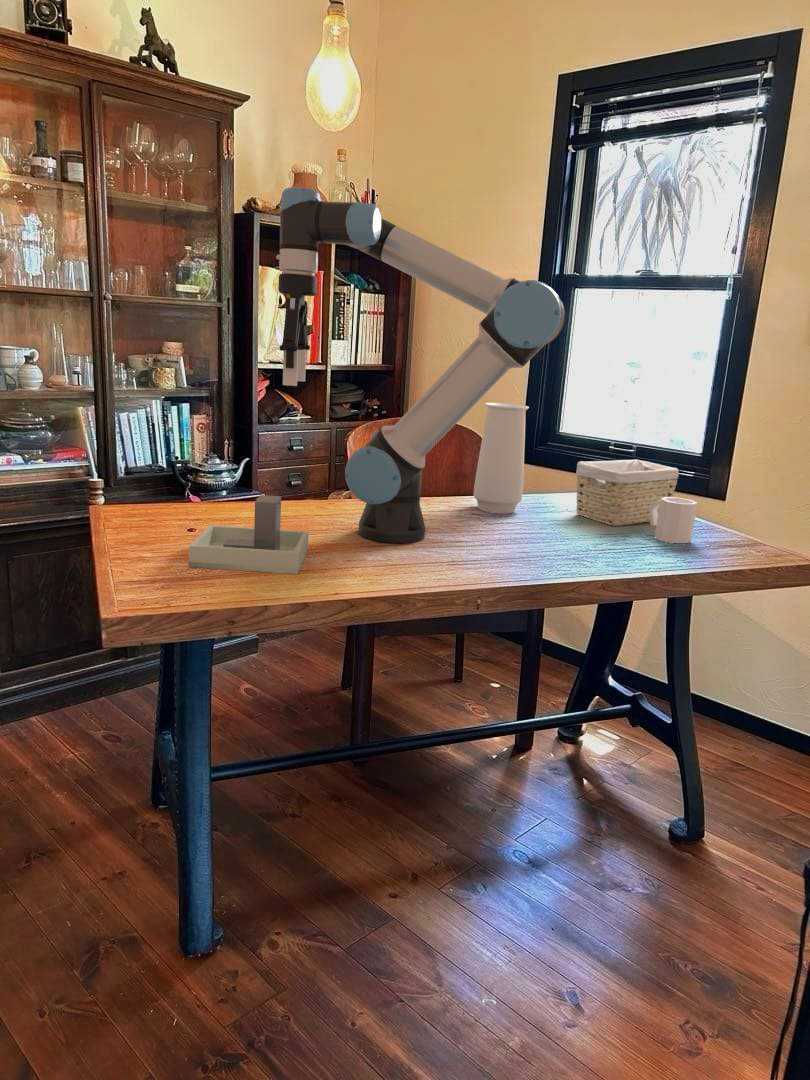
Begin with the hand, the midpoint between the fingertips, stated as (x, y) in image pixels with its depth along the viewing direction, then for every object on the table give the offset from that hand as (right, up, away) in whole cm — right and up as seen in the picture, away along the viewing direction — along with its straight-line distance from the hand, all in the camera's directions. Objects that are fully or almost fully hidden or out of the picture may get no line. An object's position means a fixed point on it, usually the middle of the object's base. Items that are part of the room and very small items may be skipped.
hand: (294, 383), depth 157 cm
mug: (+87, -32, +33) cm, 99 cm away
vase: (+47, -24, +50) cm, 73 cm away
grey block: (-7, -35, -8) cm, 36 cm away
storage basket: (+81, -26, +52) cm, 100 cm away
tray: (-7, -36, -8) cm, 37 cm away
